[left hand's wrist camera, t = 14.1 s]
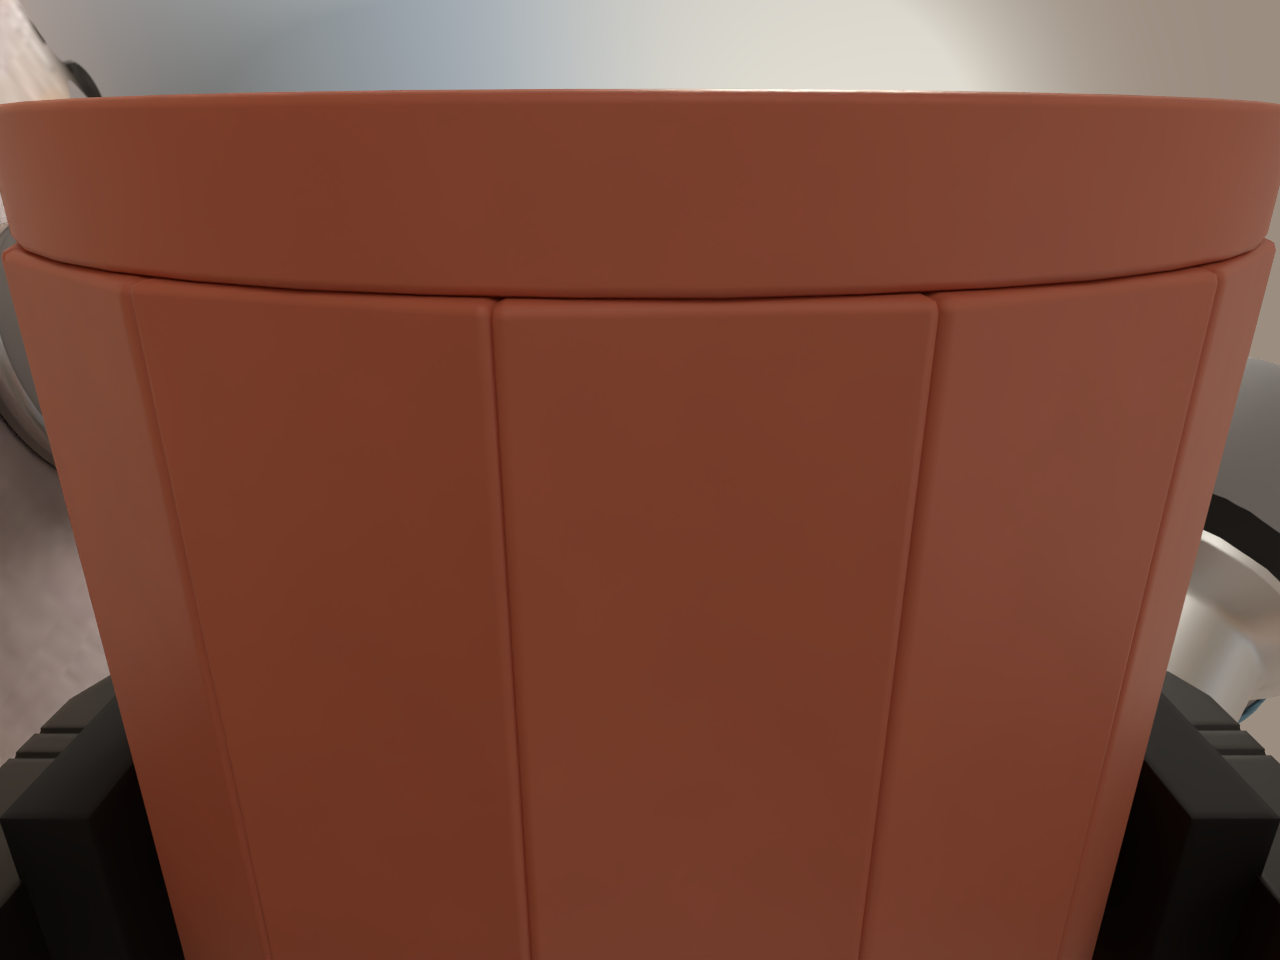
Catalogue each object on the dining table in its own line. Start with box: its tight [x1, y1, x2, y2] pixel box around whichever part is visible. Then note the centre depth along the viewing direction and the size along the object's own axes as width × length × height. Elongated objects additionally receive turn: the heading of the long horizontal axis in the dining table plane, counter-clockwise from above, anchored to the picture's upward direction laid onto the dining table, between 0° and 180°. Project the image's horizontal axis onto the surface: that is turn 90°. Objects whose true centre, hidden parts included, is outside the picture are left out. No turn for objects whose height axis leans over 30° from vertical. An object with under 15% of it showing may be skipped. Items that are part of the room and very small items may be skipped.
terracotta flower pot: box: [0, 89, 1280, 960], centre depth 10 cm, size 9×9×11 cm
